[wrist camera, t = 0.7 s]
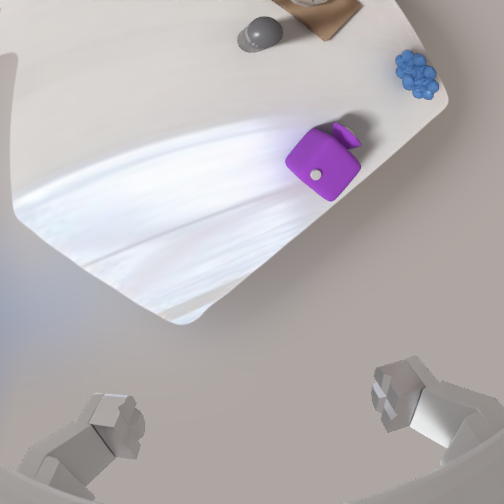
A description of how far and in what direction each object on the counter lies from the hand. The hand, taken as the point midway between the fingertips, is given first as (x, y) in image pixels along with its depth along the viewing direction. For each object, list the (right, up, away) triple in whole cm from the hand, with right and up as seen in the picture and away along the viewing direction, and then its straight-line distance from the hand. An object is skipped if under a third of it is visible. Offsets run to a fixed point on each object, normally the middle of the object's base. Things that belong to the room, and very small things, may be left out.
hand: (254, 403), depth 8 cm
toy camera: (+13, +25, +44) cm, 52 cm away
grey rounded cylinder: (0, +40, +30) cm, 50 cm away
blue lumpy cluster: (+30, +42, +37) cm, 63 cm away
